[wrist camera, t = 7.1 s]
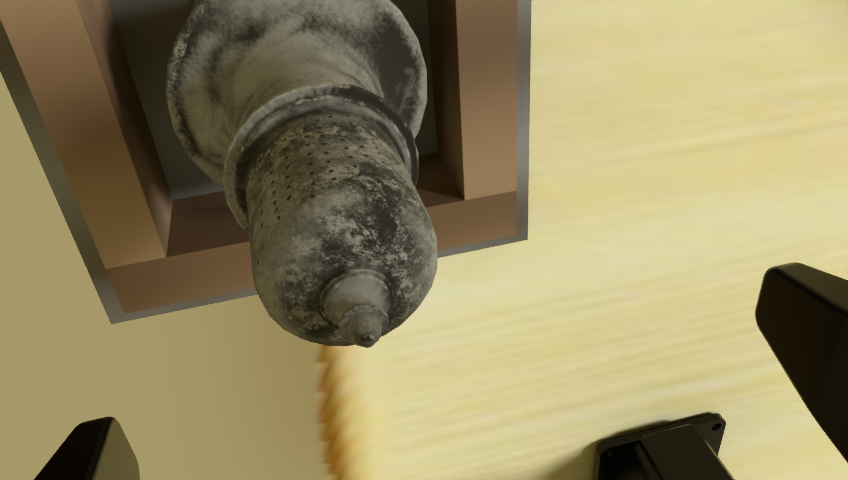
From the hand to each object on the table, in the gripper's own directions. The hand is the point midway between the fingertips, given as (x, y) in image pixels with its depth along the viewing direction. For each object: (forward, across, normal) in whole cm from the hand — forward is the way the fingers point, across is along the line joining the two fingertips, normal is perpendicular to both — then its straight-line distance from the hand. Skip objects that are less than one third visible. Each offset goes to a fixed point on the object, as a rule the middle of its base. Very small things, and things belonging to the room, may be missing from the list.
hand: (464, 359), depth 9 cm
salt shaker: (+12, +1, -1) cm, 12 cm away
